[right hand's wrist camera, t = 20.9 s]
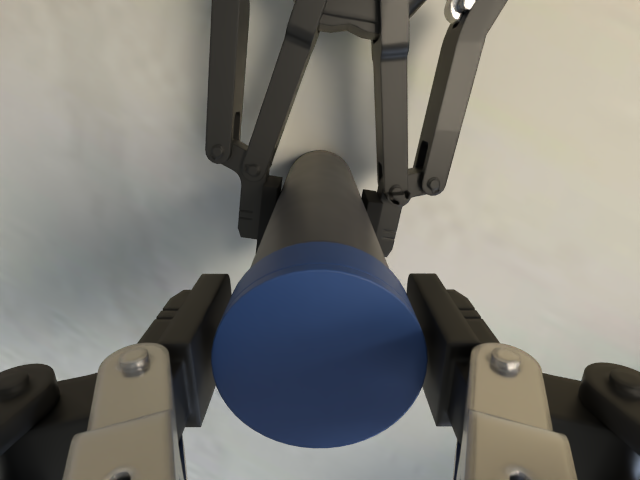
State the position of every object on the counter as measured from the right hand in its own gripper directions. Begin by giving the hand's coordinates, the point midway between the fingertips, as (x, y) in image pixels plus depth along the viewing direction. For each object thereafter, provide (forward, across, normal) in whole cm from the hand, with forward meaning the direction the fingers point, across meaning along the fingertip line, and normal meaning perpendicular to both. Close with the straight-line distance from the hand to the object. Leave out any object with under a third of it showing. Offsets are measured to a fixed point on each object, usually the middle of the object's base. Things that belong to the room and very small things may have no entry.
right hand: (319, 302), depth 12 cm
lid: (-3, 0, 0) cm, 3 cm away
